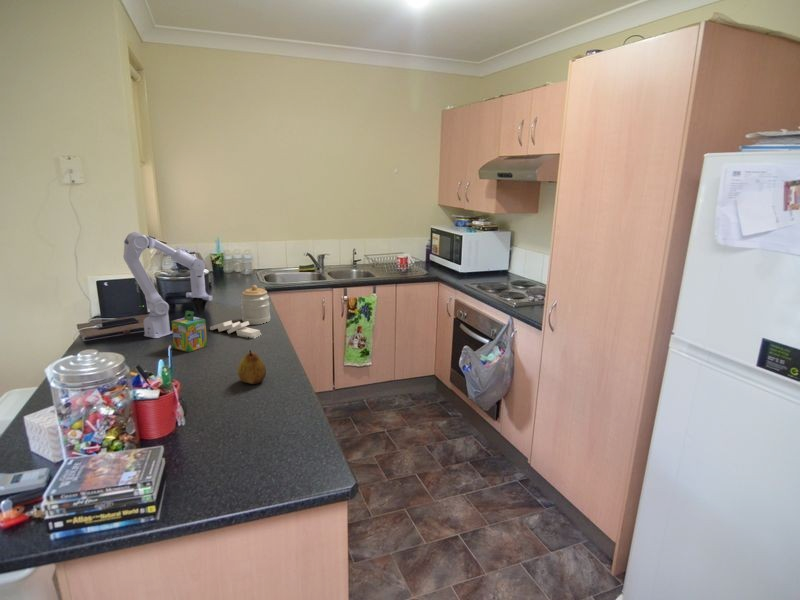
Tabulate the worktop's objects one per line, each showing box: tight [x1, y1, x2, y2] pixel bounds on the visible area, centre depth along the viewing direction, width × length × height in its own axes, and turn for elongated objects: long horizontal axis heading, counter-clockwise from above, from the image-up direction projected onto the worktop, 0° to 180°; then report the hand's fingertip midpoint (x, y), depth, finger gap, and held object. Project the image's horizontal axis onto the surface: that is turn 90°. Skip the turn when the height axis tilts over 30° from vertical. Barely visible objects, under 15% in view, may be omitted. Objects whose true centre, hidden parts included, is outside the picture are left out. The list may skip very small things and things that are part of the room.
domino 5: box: [236, 332, 262, 339], centre depth 202 cm, size 2×5×9 cm
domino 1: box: [209, 319, 234, 331], centre depth 208 cm, size 2×5×9 cm
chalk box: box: [170, 310, 208, 353], centre depth 185 cm, size 9×9×15 cm
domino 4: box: [235, 326, 261, 337], centre depth 201 cm, size 2×5×9 cm
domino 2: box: [217, 321, 241, 333], centre depth 206 cm, size 2×5×9 cm
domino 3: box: [226, 321, 250, 335], centre depth 203 cm, size 2×5×9 cm
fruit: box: [237, 349, 267, 385], centre depth 154 cm, size 9×9×12 cm
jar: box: [240, 284, 271, 326], centre depth 221 cm, size 13×13×18 cm
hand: (200, 314), depth 212 cm, fingers closed
